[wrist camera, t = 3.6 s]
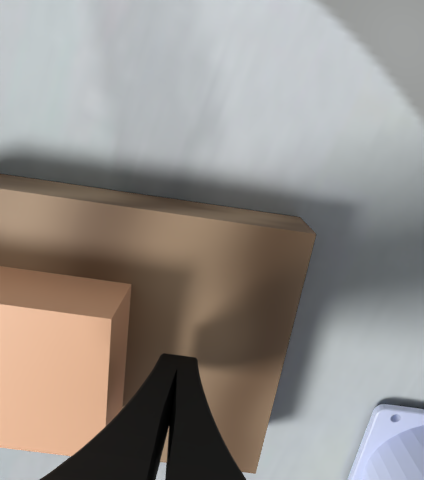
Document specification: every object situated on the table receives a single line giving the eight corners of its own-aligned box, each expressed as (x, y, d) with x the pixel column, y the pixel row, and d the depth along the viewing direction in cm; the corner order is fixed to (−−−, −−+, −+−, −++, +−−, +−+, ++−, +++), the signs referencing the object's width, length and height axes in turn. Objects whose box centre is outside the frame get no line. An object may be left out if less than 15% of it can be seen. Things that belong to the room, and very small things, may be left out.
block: (131, 284, 13) (111, 319, 10) (122, 406, 15) (103, 460, 12) (-80, 255, 12) (-150, 283, 10) (-62, 383, 14) (-117, 432, 12)
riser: (299, 217, 14) (316, 234, 12) (250, 428, 18) (255, 473, 16) (-39, 168, 14) (-91, 175, 12) (-17, 394, 18) (-54, 435, 15)
